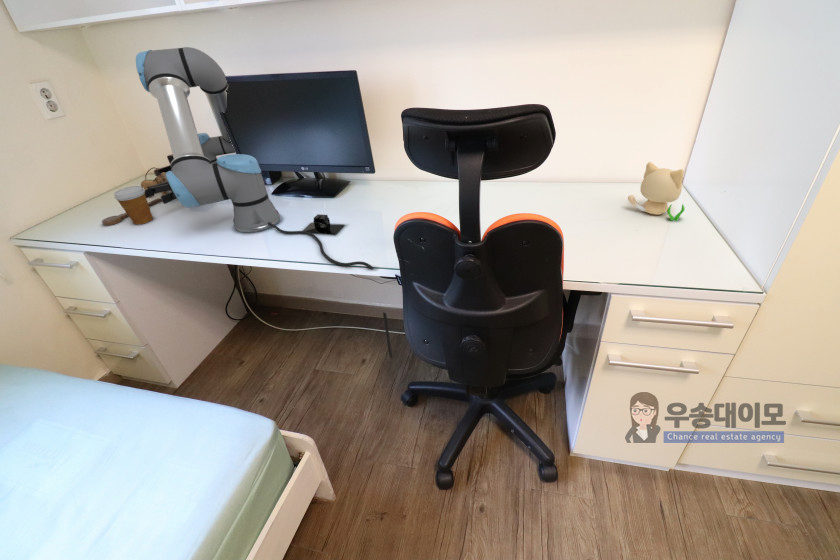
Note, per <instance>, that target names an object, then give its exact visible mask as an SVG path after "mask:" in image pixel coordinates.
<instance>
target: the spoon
mask: <svg viewBox="0 0 840 560" xmlns="http://www.w3.org/2000/svg"><path fill="white" fill-rule="evenodd" d="M147 202H148V205H149V207H151V206H153V205H156V204H158V203H160V202H163V201H162V199H161V197H160V198H159V197H157V198H155V199H153V200H150V201H147ZM126 218H129V216H128V214H127V213H126V212H123V213H120V214H118V215H111V216H107V217H105V218H103V219H102V220H101V223H102V225H103V226H105V227H108V226H113V225H116V224H119V223H121V222H122V221H123V219H126Z"/></svg>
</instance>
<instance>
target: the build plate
mask: <svg viewBox="0 0 840 560" xmlns="http://www.w3.org/2000/svg"><path fill="white" fill-rule="evenodd" d="M345 226H346V225H345V224H343V223H342V224H341V223H331V221H330V218H329V215H328V214H316V215H315V216H314V217H313V221H312V222H310V223H309V224H308V225H307V226H306V227H305V228H304V229H303V230H302V231H307V232H310V233H312V234H314V235H325V236H326V235H330V236H337V235H338V234H339V232H341V231H342V229H343V228H344V227H345Z"/></svg>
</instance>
